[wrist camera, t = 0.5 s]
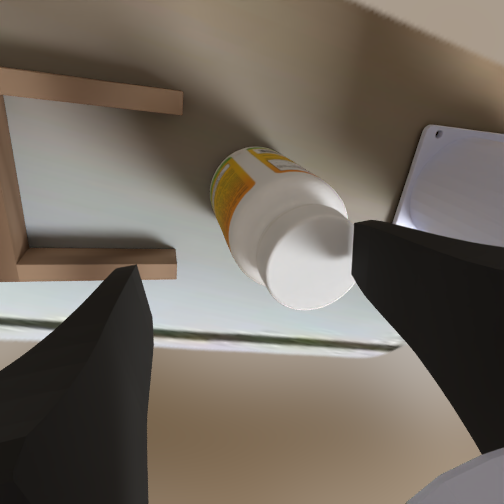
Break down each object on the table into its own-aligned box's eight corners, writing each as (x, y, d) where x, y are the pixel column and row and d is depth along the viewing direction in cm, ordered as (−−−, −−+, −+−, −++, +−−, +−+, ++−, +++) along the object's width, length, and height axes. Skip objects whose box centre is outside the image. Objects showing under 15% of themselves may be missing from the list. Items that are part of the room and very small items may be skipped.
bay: (180, 90, 17) (183, 92, 16) (174, 263, 22) (176, 279, 20) (-29, 62, 15) (-54, 60, 13) (11, 263, 19) (-3, 281, 17)
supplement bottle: (229, 244, 22) (274, 347, 14) (192, 169, 19) (220, 240, 11) (304, 209, 22) (394, 289, 14) (278, 129, 19) (370, 168, 11)
